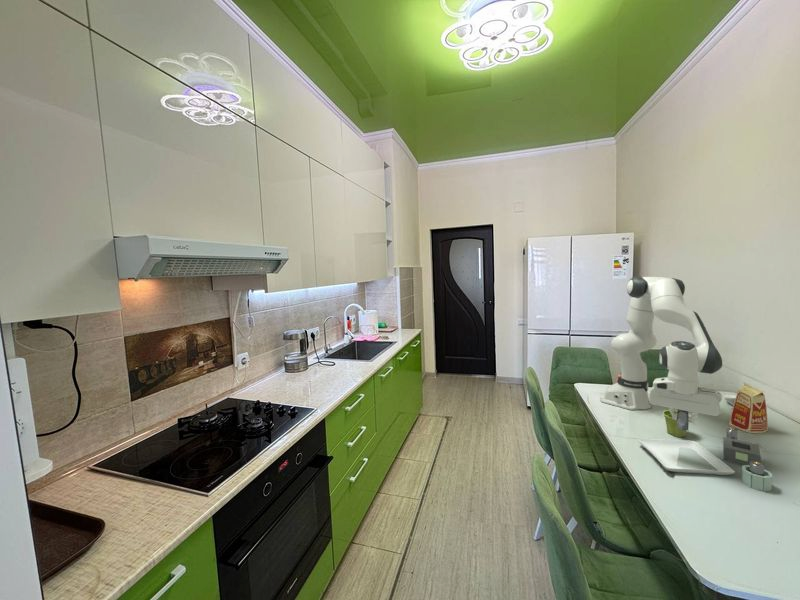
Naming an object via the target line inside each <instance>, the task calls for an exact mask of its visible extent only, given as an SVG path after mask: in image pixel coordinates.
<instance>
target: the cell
mask: <svg viewBox="0 0 800 600" xmlns="http://www.w3.org/2000/svg"><path fill="white" fill-rule="evenodd" d="M676 411H677V428H678V429H680V430H687V431H689V422H688V417H689V416H690V414H689V412H690V411H685V410H680V409H676Z"/></svg>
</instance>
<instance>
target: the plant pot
mask: <svg viewBox="0 0 800 600" xmlns="http://www.w3.org/2000/svg"><path fill="white" fill-rule="evenodd" d="M673 411H674V413H675V414H677V410H674V409H673ZM662 415H663V416H664V420H665V425H666V432H667V433H668V434H669V435H672V436H675V437H677V438H678V437H679V438H683V437H686V435H687V431H688V430H680V429H678V428H677V420H675V419H672V414H671V413H670V411H669V409H667V410H663V411H662Z"/></svg>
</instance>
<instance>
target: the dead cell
mask: <svg viewBox="0 0 800 600" xmlns="http://www.w3.org/2000/svg"><path fill="white" fill-rule="evenodd" d="M764 469H765V465H764V464H763V463H761V462H760V463H759V462H754V461H751V462H750V472H751V473H753V474H756V475H760V476H764Z"/></svg>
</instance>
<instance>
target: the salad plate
mask: <svg viewBox="0 0 800 600" xmlns="http://www.w3.org/2000/svg"><path fill="white" fill-rule="evenodd" d="M637 441H638V443H639V444H640V445H641V446H642V447H643V448H645V449H646V450H647V452H649V453H650V454H651V456H653V457H654V458H655V459H656V460H657V461H658V462H659V463H660V464H661V466H662V467H663V468H664V469H665V470H666V471H668V472H669V471H670V472H671V473H672V472H673V473H688V474H689V473H690V474H691V473H692V474H706V475H720V476H729V475H733V474H735V473H736V471H735V470H734V469H733V468H731V466H730V465H728V464H726V463H725V461H722V460H721V459H720V458H718V457H717V456H716V455H714V454H713V453H712V452H711V451H709V450H708V449H706V448H705V447H704V446H702V445H701V443H698V442H697V441H696V440H695V441H694V440H688V439H687V440H686V439H684V440H683V439H663V438H661V439H660V438H637ZM680 449H691V450H693V451H694V452H695V453H696V454H697V455H699V456H700V457H701V458H703V459H704V460H705V461H707V462H708V464H710V465H711V466H712V467H713V468H715V469H716V470H710V469H698V468H684V467H681V466H678V460H679V455H680Z"/></svg>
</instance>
